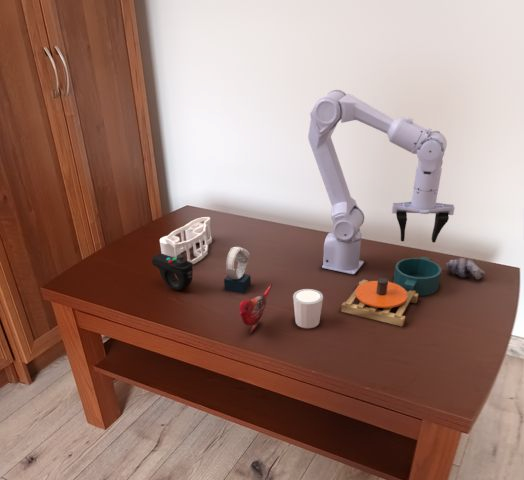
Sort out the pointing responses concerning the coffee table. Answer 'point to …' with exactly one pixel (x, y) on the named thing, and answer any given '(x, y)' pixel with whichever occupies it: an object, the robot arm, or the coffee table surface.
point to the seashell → (464, 268)
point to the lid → (381, 294)
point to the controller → (174, 270)
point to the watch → (237, 278)
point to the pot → (418, 275)
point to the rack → (378, 314)
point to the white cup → (307, 307)
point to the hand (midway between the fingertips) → (417, 240)
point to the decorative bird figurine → (253, 309)
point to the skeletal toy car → (188, 240)
